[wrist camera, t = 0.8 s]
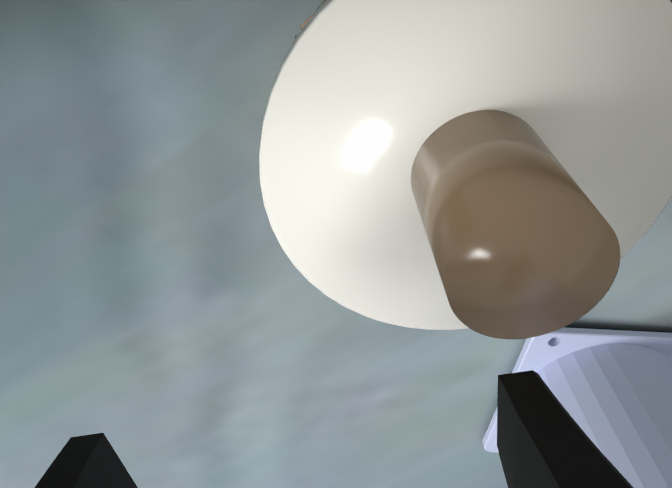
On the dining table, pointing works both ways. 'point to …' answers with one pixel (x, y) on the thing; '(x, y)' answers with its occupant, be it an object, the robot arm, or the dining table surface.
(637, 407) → the robot arm
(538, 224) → the lid
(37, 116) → the dining table surface
